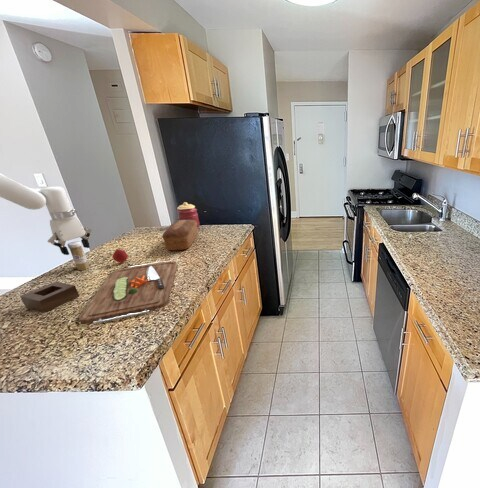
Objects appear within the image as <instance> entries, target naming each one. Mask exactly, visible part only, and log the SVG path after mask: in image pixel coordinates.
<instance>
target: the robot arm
mask: <svg viewBox="0 0 480 488" xmlns="http://www.w3.org/2000/svg"><path fill="white" fill-rule="evenodd" d="M0 198H2V199H4V200H7V201H8V202H11V203H13V204H15V205H17V206H20V207H23V208H24V209H28V210H39V209H42V208H45V206H46V209H47V211H48V214H49V216H50V218H51V219H49V225H50V226H49V227H50V230H51V233H52V234H51V236H50V237H49V238H48V239H47V243H48V244H50V245H53V246H55V247H58V248H59V250H60V253H61V254H62V255H64V256H69V255H70V251H69V248H68V246H66V242H68V241H72V240H75V239H78V238H80V239H81V241H80V242H81V245H82V248H84V249H90V247H91V246H90V242H89V238H90V236H91V232H92V229H91V228H87V227H84V226H83V224H82V222H81V220H80V218H78V216H77V215H76V213H77V210H76V209H73V207H72V205H71V202H70V200H69V197H68V194H67V192H66V189H65V188H64V187H62V186H47V187H43V188H31V187H29V186H26V185H24V184H22V183H20V182H19V181H17V180H14V179H12V178H10V177H8V176H6V175H5V174H2V173H1V172H0ZM56 241H57V242H56Z"/></svg>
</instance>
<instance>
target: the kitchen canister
mask: <svg viewBox="0 0 480 488" xmlns="http://www.w3.org/2000/svg"><path fill="white" fill-rule="evenodd" d="M176 209H177V210H176V213H177V219H178V221H179V220H195V221H196V222H197V228H198V227H200V226H201V225H200V224H201V223H200V220H199V213H198V212H197V211H198V209H197V208H196V205H194V204H192V203H188V202H186V201H184V202H183V203H182V204H180V205H178V207H176Z"/></svg>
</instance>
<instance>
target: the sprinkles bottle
mask: <svg viewBox="0 0 480 488" xmlns="http://www.w3.org/2000/svg"><path fill="white" fill-rule="evenodd" d="M66 245H67V249H68V250H69V252H70V254H71V256H72V259H73V262H74V264H75V266H76V269H77V271H85V270H87V269H89V268H90V264H89V262H88V258H87V256H86V254H85V251H84V249H83V245H82V242H81V241H77V240H76V241H72V242H69V243H67V244H66Z"/></svg>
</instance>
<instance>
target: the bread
mask: <svg viewBox="0 0 480 488" xmlns="http://www.w3.org/2000/svg"><path fill="white" fill-rule="evenodd" d="M198 235H199V231H198V227H197V222H196V221H195V220H179V219H178V220H177V221H174V222H173V223H171V224H169V226H168V227H167V229H166V230H165V231H164V232H163V233H162V239H163V242H164V246H165V249H166V250H167V251H182V250H187V249H189V248H190V247H191V245H192V244H193V243H194V242H195V240H196V238H197V237H198Z"/></svg>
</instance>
